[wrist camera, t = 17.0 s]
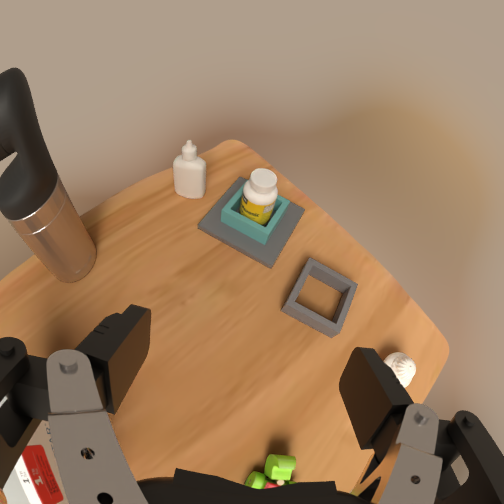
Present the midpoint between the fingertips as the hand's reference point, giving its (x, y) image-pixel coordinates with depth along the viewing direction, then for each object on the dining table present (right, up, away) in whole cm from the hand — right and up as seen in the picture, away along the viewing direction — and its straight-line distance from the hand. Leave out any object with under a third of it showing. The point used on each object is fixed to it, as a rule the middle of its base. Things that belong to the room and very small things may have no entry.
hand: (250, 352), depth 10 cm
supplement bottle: (0, +10, +38) cm, 40 cm away
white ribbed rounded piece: (+21, -16, +28) cm, 39 cm away
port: (0, +9, +39) cm, 40 cm away
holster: (+10, -4, +33) cm, 35 cm away
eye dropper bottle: (-11, +15, +41) cm, 45 cm away
